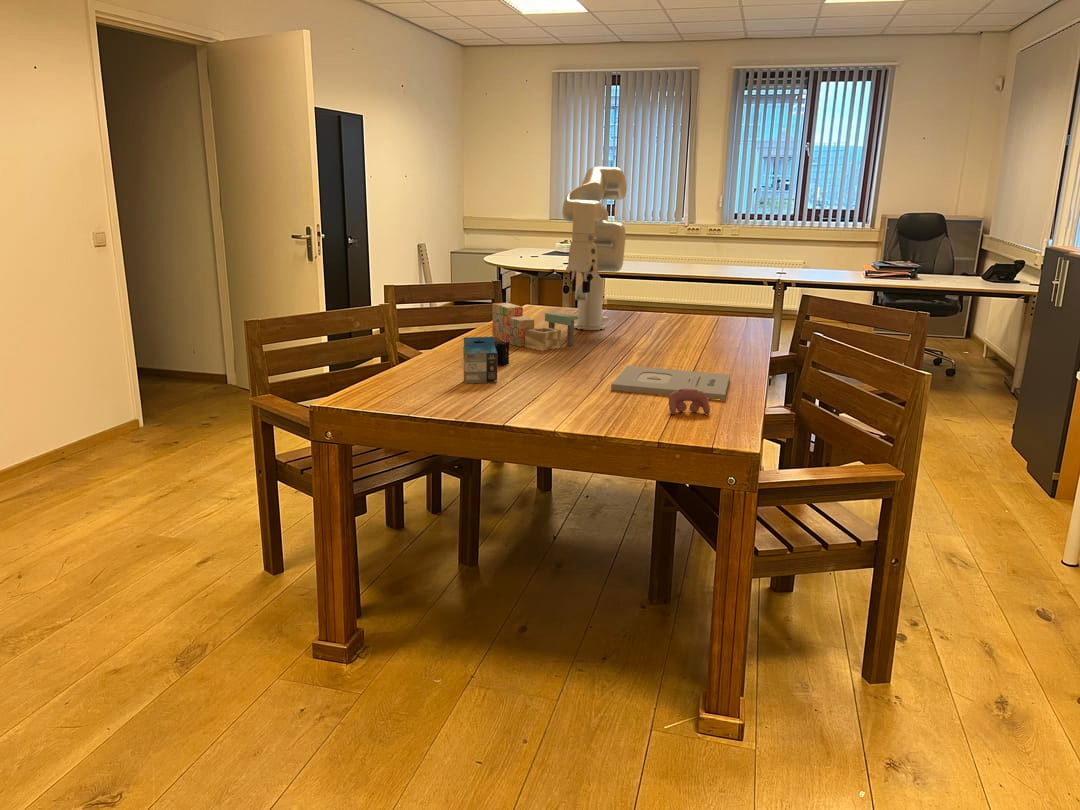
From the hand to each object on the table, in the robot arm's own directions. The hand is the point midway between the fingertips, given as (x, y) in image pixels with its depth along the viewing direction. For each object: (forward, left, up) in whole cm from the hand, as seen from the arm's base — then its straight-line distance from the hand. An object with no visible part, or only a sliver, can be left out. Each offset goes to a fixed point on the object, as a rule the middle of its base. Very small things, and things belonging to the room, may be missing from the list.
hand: (581, 291), depth 273 cm
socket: (+19, 0, -18) cm, 26 cm away
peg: (0, 0, -3) cm, 3 cm away
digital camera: (+50, +8, -18) cm, 54 cm away
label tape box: (+67, +23, -18) cm, 74 cm away
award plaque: (+29, +60, -18) cm, 69 cm away
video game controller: (+49, +79, -18) cm, 95 cm away
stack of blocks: (+19, -15, -18) cm, 30 cm away
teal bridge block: (+8, -1, -18) cm, 20 cm away
